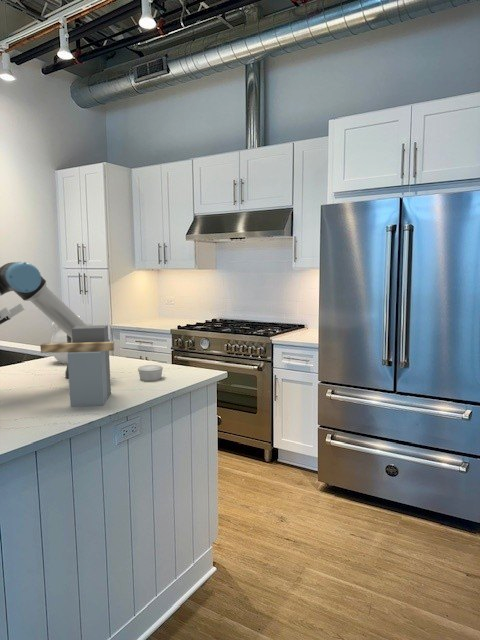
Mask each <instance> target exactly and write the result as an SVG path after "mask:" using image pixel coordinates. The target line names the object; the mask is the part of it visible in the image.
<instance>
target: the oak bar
mask: <svg viewBox="0 0 480 640" xmlns="http://www.w3.org/2000/svg"><path fill="white" fill-rule="evenodd" d="M39 348H40V353H41V354H47V353H48V354H50V353H51V354H52V353H58V352H91V351H109V352H113V351H115V342H114V341H110V342H82V343H48V342H47V343H42V344H40V347H39Z"/></svg>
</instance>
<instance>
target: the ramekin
mask: <svg viewBox="0 0 480 640" xmlns="http://www.w3.org/2000/svg"><path fill="white" fill-rule="evenodd" d="M137 371H138V375H139V378H140V380H141V381H144V382H154V381H155V382H156V381H158V380H161V378H162V375H163V366H162V365H159V364H148V365H142V366H139V367H138V368H137Z"/></svg>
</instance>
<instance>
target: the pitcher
mask: <svg viewBox="0 0 480 640" xmlns="http://www.w3.org/2000/svg"><path fill="white" fill-rule="evenodd" d="M76 315H77V316H78V317H79V318H80V319H81V317H82V316H80V315H78V314H76ZM81 320H82V321H83V322H84V320H83V319H81ZM55 325H56V324H55V323H54V322H53V321H52V322H51V325H50V327H51V330H53V333H52V335H51V338H50V343H67V334H66V333H65V332H64V331H63V330H62V329H61V328H60V327H58V326H57V327H55ZM67 353H68V352H58V353H51V355H52V356H53V357H54V359H55V360H56V361H58V362H59V363H61V364H62V365H67V364H68V356H67Z"/></svg>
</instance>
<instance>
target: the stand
mask: <svg viewBox="0 0 480 640" xmlns="http://www.w3.org/2000/svg"><path fill="white" fill-rule="evenodd" d="M108 338H109V325H108V324H106V325H105V324H103V325H102V324H101V325H98V324H97V325H96V324H95V325H92V326H76V327H74V328H72V342H73V343H82V342H109V340H110V339H109V340H108ZM67 356H68V373H69V379H68V386H69V387H68V388H69V404H70V407H82V406H83V407H86V406H87V407H90V406H91V407H92V406H104V405H105V404H106V402H107V401H108V399H109V397H110V395H111V394H112V389H111V386H112V385H111V369H110V368H111V367H110V351H91V352H69V353H67Z"/></svg>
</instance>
